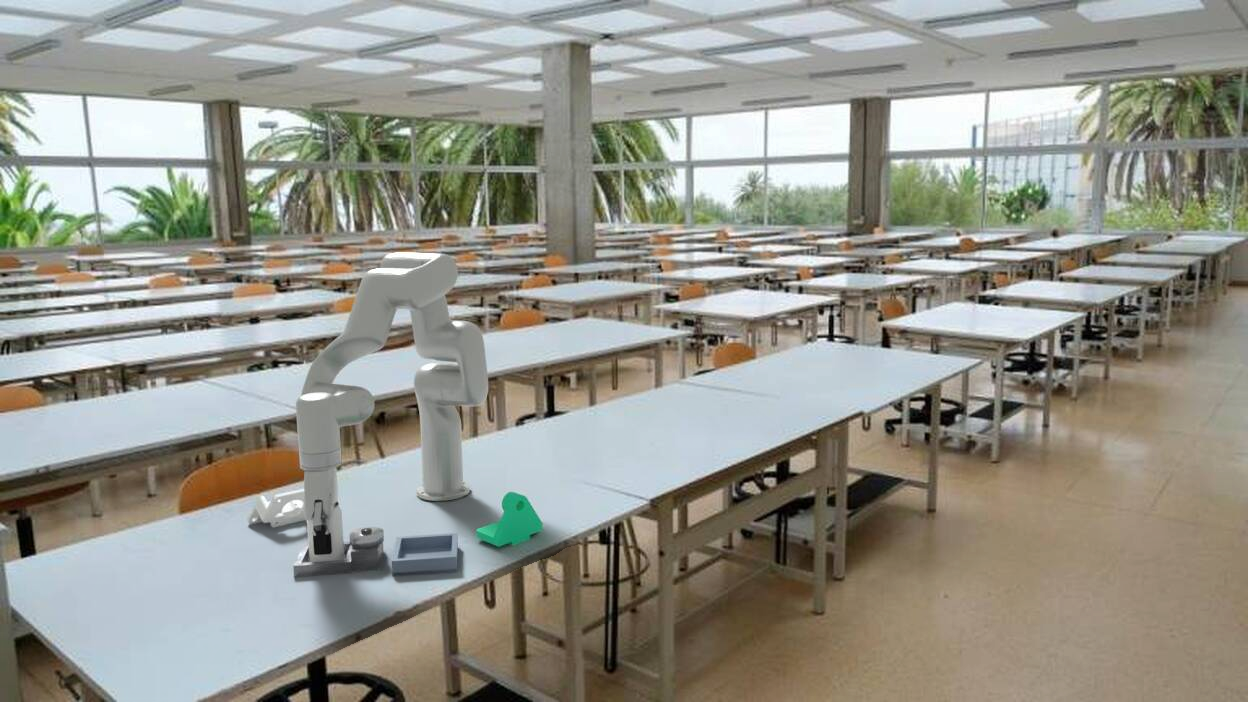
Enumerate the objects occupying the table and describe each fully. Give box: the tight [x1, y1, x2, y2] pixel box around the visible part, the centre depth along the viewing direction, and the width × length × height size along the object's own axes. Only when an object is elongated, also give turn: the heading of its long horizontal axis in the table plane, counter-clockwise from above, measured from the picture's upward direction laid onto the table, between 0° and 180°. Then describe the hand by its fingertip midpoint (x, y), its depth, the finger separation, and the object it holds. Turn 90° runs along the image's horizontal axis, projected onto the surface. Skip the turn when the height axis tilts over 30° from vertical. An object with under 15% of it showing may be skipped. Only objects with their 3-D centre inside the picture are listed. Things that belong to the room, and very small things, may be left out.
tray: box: [391, 532, 459, 577], centre depth 172 cm, size 12×12×3 cm
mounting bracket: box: [247, 488, 306, 528], centre depth 192 cm, size 12×6×11 cm, turn 130°
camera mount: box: [476, 491, 543, 547], centre depth 184 cm, size 12×8×10 cm, turn 138°
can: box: [306, 501, 346, 562], centre depth 170 cm, size 6×6×12 cm
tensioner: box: [292, 526, 385, 578], centre depth 171 cm, size 10×16×6 cm, turn 100°
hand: (326, 545), depth 171 cm, fingers closed on can, 6 cm apart
